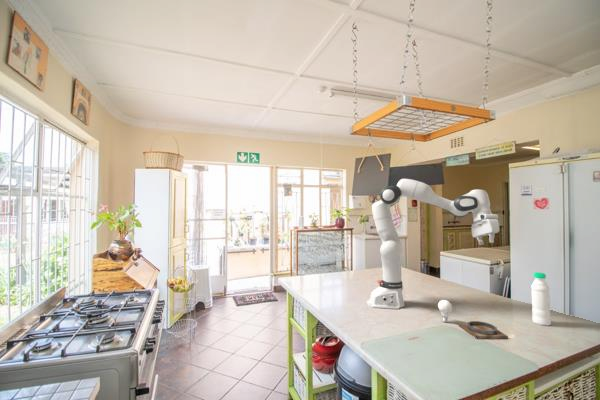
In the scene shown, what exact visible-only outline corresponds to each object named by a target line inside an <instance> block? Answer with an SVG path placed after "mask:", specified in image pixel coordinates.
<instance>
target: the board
mask: <svg viewBox="0 0 600 400" xmlns="http://www.w3.org/2000/svg"><path fill="white" fill-rule="evenodd" d="M471 326H472V327H474V328H477V329H480V330H486V331H492V330H493V329H491V328H489V327H486V326H480V325H471ZM458 327H459V328H461V329H462V330H463V331H465V332H466V333H468V335H470V336H471V335H472V336H471V337H473V336H474V337H475V338H474V337H473V338H474V339H476V338H480V339H479V340H508V339H509V336H508V335H507V334H505V333H504V332H502V331H501V330H499V329H497V334H495V335H484V334H479V333H476V332H473V331H471V330H469V329H468V328H467V323H462V322H461V323H460V322H459V323H458Z"/></svg>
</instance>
